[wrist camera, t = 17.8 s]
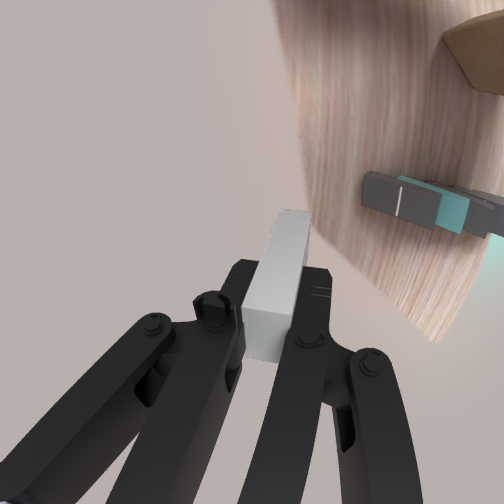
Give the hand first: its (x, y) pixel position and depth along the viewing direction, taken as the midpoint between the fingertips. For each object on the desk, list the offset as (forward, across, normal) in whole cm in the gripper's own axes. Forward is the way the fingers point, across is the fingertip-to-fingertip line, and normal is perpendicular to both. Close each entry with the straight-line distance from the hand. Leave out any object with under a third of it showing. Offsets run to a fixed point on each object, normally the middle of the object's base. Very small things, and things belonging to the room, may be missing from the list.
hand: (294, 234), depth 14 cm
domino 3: (+29, +18, -8) cm, 35 cm away
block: (+31, +25, +18) cm, 43 cm away
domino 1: (+29, +8, -8) cm, 32 cm away
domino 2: (+29, +13, -8) cm, 33 cm away
